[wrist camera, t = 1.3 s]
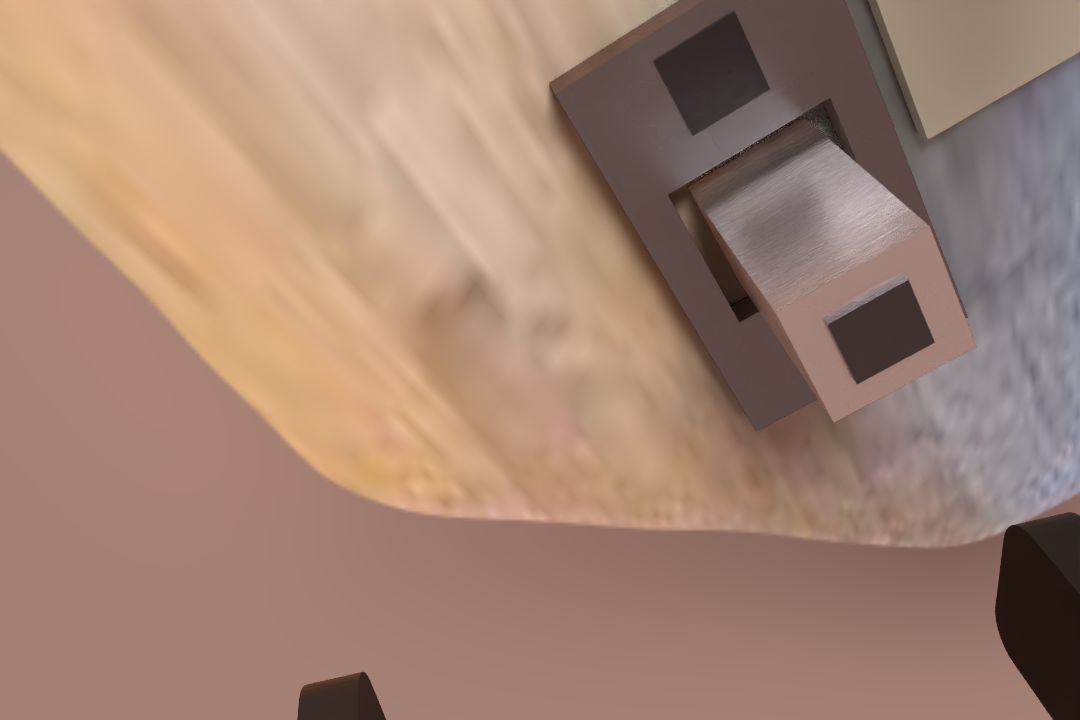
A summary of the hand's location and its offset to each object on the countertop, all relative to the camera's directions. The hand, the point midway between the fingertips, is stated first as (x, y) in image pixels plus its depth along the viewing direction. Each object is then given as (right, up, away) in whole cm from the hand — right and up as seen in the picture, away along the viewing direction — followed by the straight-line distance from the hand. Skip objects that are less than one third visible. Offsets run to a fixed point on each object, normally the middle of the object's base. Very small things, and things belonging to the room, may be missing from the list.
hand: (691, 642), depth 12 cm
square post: (+6, +9, +22) cm, 25 cm away
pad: (+12, +16, +19) cm, 28 cm away
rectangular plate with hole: (+6, +9, +22) cm, 25 cm away
